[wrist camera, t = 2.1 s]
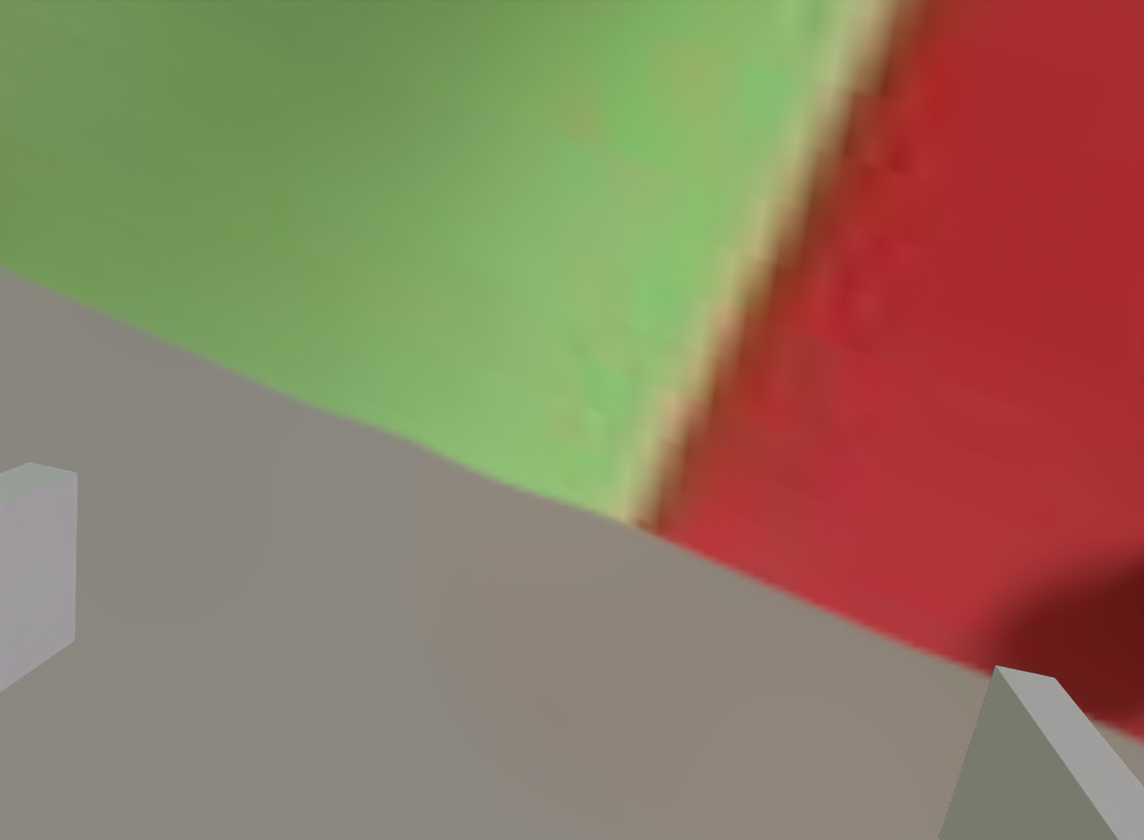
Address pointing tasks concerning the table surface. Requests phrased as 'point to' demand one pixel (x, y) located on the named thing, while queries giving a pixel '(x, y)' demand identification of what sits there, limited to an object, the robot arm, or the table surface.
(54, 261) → the table surface
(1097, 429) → the table surface
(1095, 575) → the table surface
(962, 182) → the table surface
